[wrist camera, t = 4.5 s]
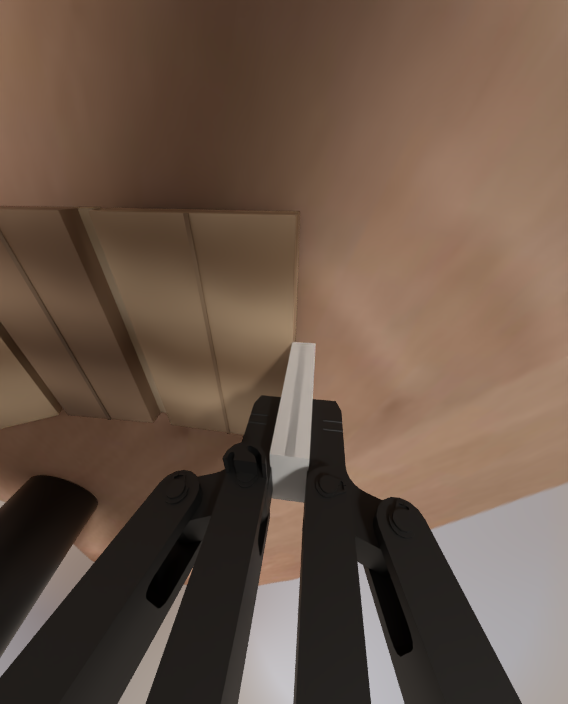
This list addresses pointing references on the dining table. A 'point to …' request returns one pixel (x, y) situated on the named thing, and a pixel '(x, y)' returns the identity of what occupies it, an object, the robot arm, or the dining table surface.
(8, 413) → the plank
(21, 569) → the water bottle
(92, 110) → the dining table surface
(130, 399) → the floor board
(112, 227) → the plank
